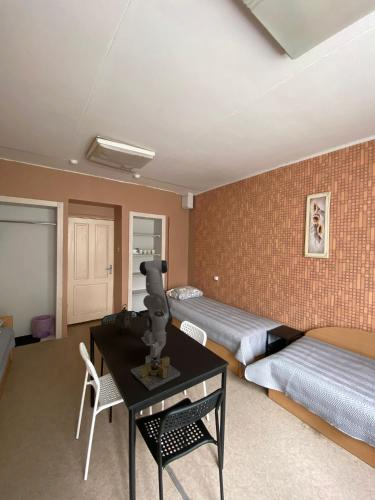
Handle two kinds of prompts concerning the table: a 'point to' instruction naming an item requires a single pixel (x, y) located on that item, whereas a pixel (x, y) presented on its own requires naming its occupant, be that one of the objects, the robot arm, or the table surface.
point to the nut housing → (155, 381)
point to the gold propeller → (161, 370)
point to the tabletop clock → (124, 319)
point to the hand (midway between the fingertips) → (158, 357)
